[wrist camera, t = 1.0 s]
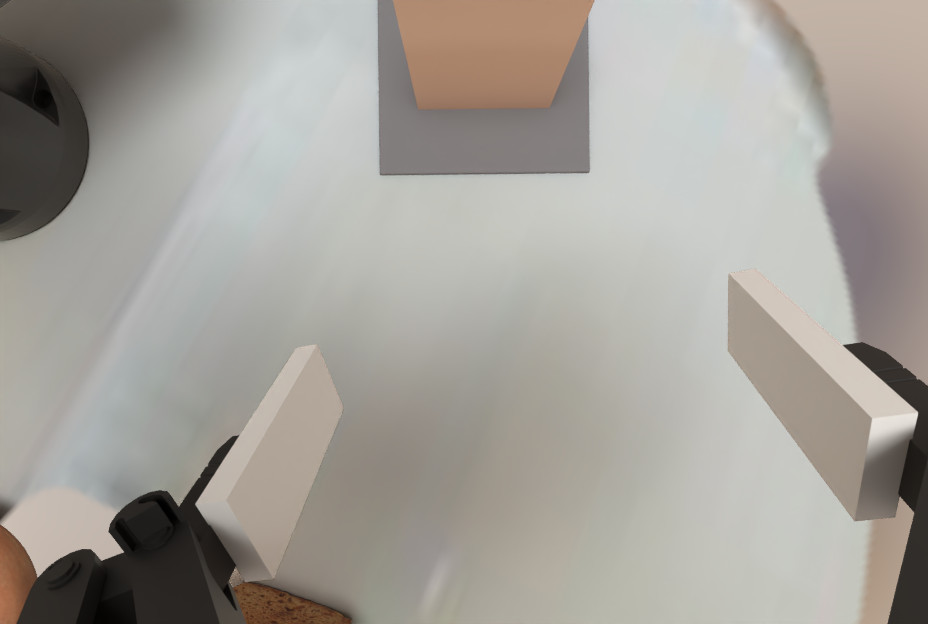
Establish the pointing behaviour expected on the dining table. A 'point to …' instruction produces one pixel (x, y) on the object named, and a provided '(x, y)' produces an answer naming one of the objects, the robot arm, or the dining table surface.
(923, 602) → the robot arm
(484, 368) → the dining table surface
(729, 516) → the dining table surface
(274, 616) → the bread
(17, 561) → the ceramic jug
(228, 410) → the dining table surface
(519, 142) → the mat
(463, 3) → the tile
